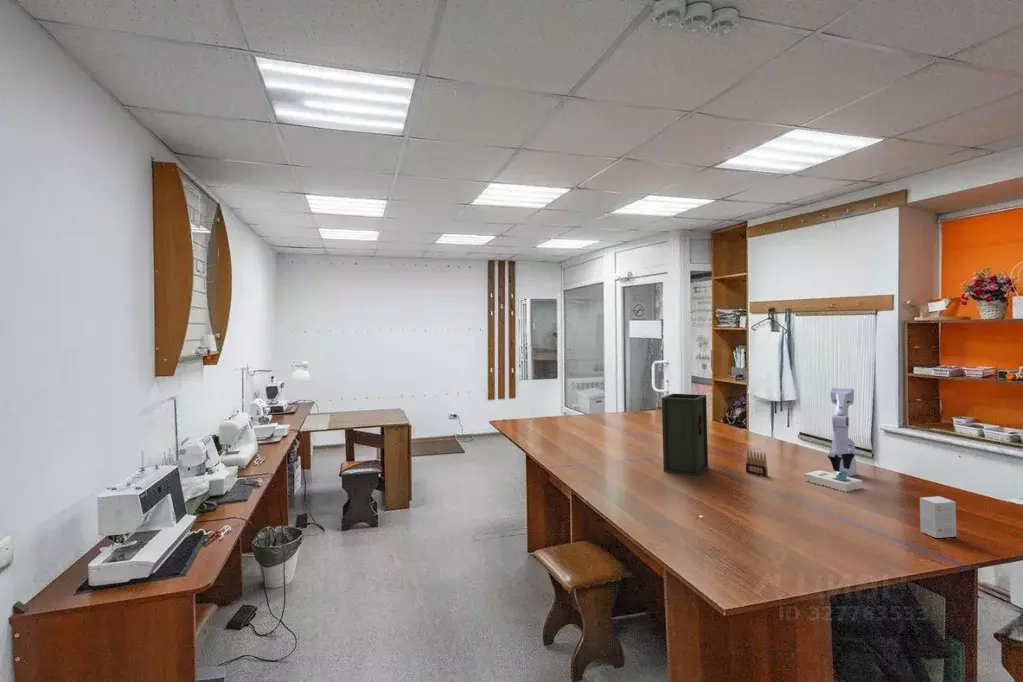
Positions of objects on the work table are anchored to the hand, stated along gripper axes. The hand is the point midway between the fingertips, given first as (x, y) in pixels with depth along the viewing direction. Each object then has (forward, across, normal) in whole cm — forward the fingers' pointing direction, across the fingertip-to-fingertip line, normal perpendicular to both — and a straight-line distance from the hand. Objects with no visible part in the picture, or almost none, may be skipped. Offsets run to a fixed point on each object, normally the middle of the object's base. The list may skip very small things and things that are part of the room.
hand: (841, 469), depth 234 cm
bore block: (+8, 0, +4) cm, 9 cm away
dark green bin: (+8, -40, +58) cm, 71 cm away
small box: (+8, -25, -50) cm, 56 cm away
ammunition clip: (+8, -16, +34) cm, 38 cm away
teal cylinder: (+8, 0, 0) cm, 8 cm away
